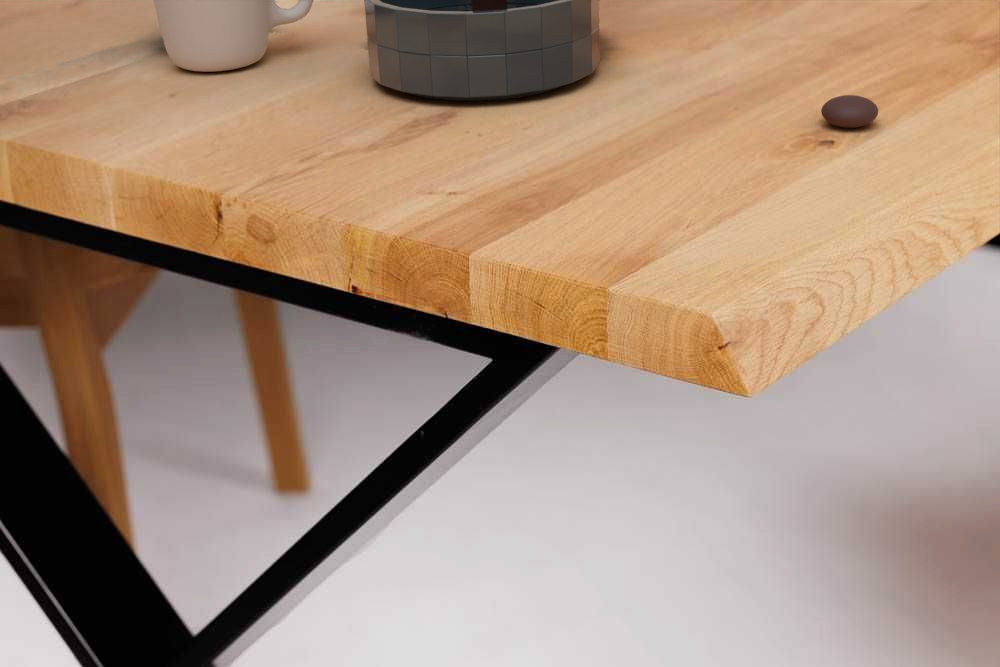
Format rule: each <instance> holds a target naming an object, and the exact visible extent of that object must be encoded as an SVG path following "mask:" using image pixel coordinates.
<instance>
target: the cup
mask: <svg viewBox="0 0 1000 667" xmlns="http://www.w3.org/2000/svg"><path fill="white" fill-rule="evenodd" d="M313 3H314V0H298V1H297V2H296V3H295V5H293V7H290V8H282V7H280V6H279V5H278V4H277V3H276V1H275V0H153V4H154V9H155V13H156V16H157V22H158V24H159V29H160V34H161V36H162V41H163V45H164V48H165V50H166V52H167V55H168V57H169V59H170V61H171V62H172V63H173V64H174V65H175V66H177V67H179V68H181V69H183V70H187V71H193V72H202V73H203V72H206V73H207V72H212V73H213V72H223V71H231V70H237V69H240V68H241V69H242V68H244V67H245V68H246V67H248V66H250V65H253V64H255V63H257V62H258V61H260V60H261V59H262V58H263V57H264V55H265V54H266V52H267V49H268V44H269V37H270V36H269V35H270V32H271V30H272V29H274V28H275V27H278V26H282V25H288V24H289V25H290V24H292V23H295V22H298V21H300V20H302V19H303V18H305V17H306V16H307V15H308V14H309V13H310V11H311V9H312V7H313Z"/></svg>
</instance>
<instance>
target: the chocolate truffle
mask: <svg viewBox="0 0 1000 667" xmlns="http://www.w3.org/2000/svg"><path fill="white" fill-rule="evenodd" d="M820 112H821V115H822V117H823V119H824V120H825V121H826V122H828V123H829V124H831V125H833V126H835V127H841V128H845V129H846V128H860V127H864V126H867V125H869V124H871V123H872V122H874V121H875V120H876V119H877V117H878V115H879V107H878V106H877V104H876V103H875V102H874V101H873V100H871V99H869V98H867V97H864V96H861V95H854V94H853V95H852V94H844V95H839V96H835V97H832V98H830V99H828V100H826V102H824V104H823V105H822V107H821V110H820Z"/></svg>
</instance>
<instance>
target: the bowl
mask: <svg viewBox="0 0 1000 667" xmlns="http://www.w3.org/2000/svg"><path fill="white" fill-rule="evenodd" d="M363 1H364V14H365V27H366V36H367V37H366V38H367V50H368V62H369V63H368V64H369V75H370V77H371V78H372V79H374V81H376V82H377V83H378V84H379V85H381V86H383V87H387V88H390V89H393V90H395V91H399V92H403V93H407V94H409V95H413V96H418V97H422V98H427V99H432V100H433V99H434V100H441V101H454V102H455V101H456V102H483V101H485V102H487V101H500V100H501V101H502V100H509V99H510V100H511V99H518V98H523V97H529V96H530V97H531V96H534V95H539V94H543V93H547V92H550V91H554V90H556V89H559V88H561V87H564V86H565V85H566V86H567V85H570V84H573V83H575V82H577V81H579V80H581V79H583V78H586V77H587V76H590V75H592V74H593V72H594V71H595V70H596V69H597V68H598V66H600V62H601V61H600V60H601V59H600V56H601V55H600V54H601V53H600V0H507V9H505V10H488V11H471V10H472V0H363ZM467 11H469V12H467Z"/></svg>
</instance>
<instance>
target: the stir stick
mask: <svg viewBox="0 0 1000 667" xmlns="http://www.w3.org/2000/svg"><path fill="white" fill-rule="evenodd" d="M505 9H507V0H472V10H471V11H488V10H505ZM467 12H469V11H467Z"/></svg>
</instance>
